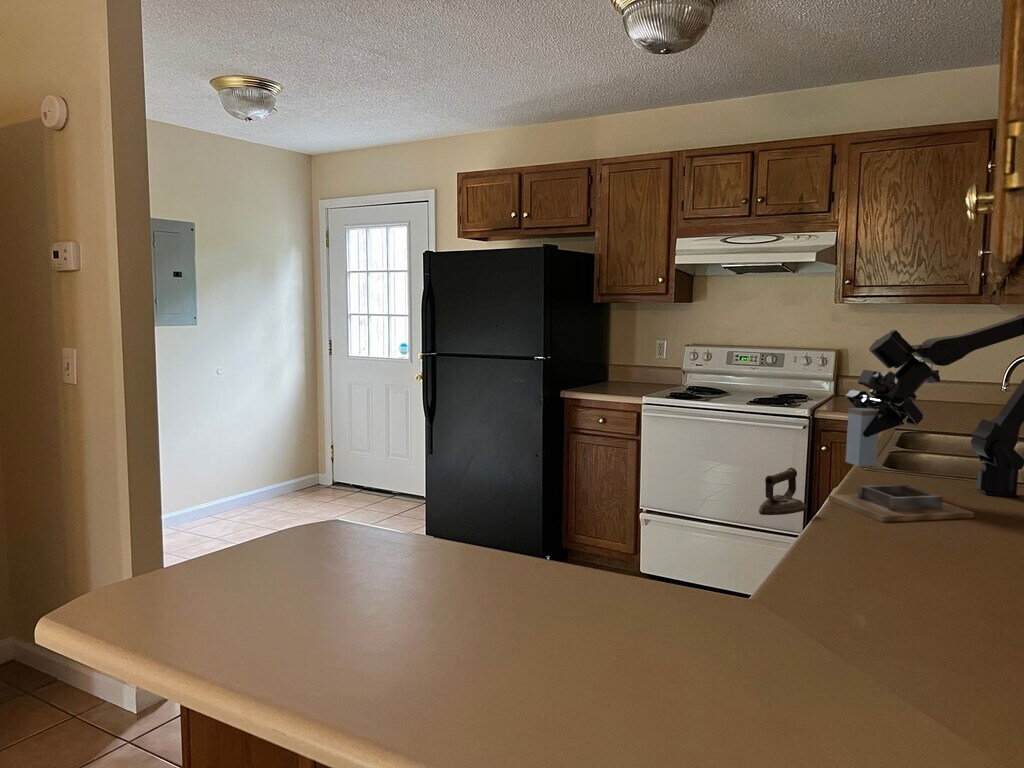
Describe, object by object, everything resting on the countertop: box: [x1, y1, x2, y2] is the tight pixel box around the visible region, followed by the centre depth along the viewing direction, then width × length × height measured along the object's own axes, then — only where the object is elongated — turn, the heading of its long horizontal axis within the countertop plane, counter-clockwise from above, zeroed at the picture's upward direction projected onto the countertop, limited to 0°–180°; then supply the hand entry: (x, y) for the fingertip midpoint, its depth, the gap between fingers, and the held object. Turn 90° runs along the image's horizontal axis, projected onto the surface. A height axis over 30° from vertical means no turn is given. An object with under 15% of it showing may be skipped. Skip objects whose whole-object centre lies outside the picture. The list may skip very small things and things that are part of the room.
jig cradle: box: [828, 484, 975, 523], centre depth 146 cm, size 20×16×4 cm
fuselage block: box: [845, 407, 880, 467], centre depth 160 cm, size 4×4×12 cm
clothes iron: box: [758, 467, 808, 516], centre depth 143 cm, size 7×11×10 cm, turn 131°
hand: (857, 433), depth 160 cm, fingers closed on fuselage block, 4 cm apart
